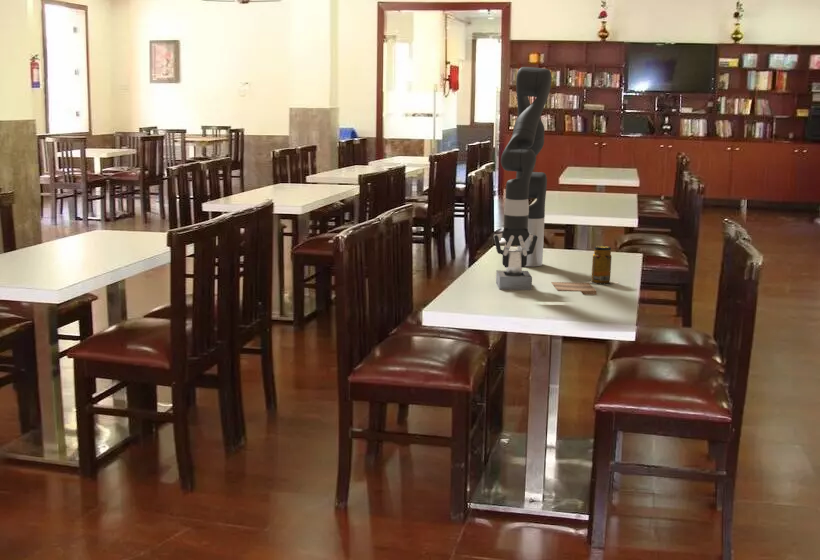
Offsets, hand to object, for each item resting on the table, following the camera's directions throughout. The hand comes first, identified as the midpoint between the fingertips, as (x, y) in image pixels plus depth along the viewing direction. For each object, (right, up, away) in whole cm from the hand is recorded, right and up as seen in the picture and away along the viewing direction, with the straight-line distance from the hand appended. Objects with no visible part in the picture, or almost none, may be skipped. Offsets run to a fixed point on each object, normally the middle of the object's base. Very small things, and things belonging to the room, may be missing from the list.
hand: (514, 266), depth 290 cm
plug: (0, -5, +1) cm, 5 cm away
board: (+19, -7, +2) cm, 20 cm away
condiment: (+31, -5, +14) cm, 34 cm away
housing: (0, -7, +1) cm, 7 cm away
